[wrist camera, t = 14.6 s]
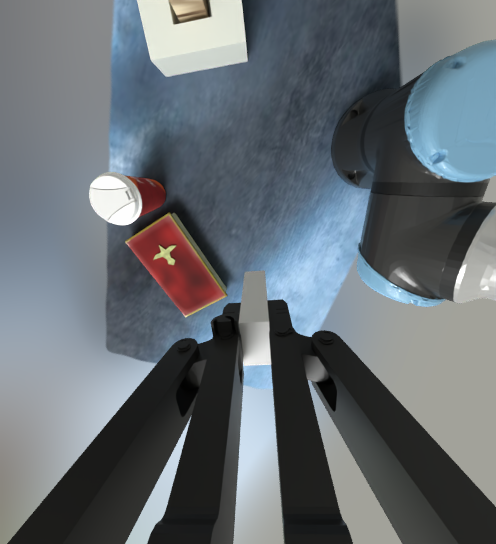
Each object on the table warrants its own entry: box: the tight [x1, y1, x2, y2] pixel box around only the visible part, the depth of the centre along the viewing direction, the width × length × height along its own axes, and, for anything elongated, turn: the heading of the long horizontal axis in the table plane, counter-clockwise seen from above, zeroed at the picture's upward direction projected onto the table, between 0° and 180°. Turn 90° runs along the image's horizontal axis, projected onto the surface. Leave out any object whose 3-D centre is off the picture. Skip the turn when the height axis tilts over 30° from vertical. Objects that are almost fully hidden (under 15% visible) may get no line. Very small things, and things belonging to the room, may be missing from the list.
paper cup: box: [89, 172, 166, 225], centre depth 40 cm, size 8×8×14 cm
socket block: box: [137, 0, 248, 77], centre depth 33 cm, size 14×12×6 cm
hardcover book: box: [125, 212, 227, 317], centre depth 51 cm, size 12×21×4 cm, turn 31°
